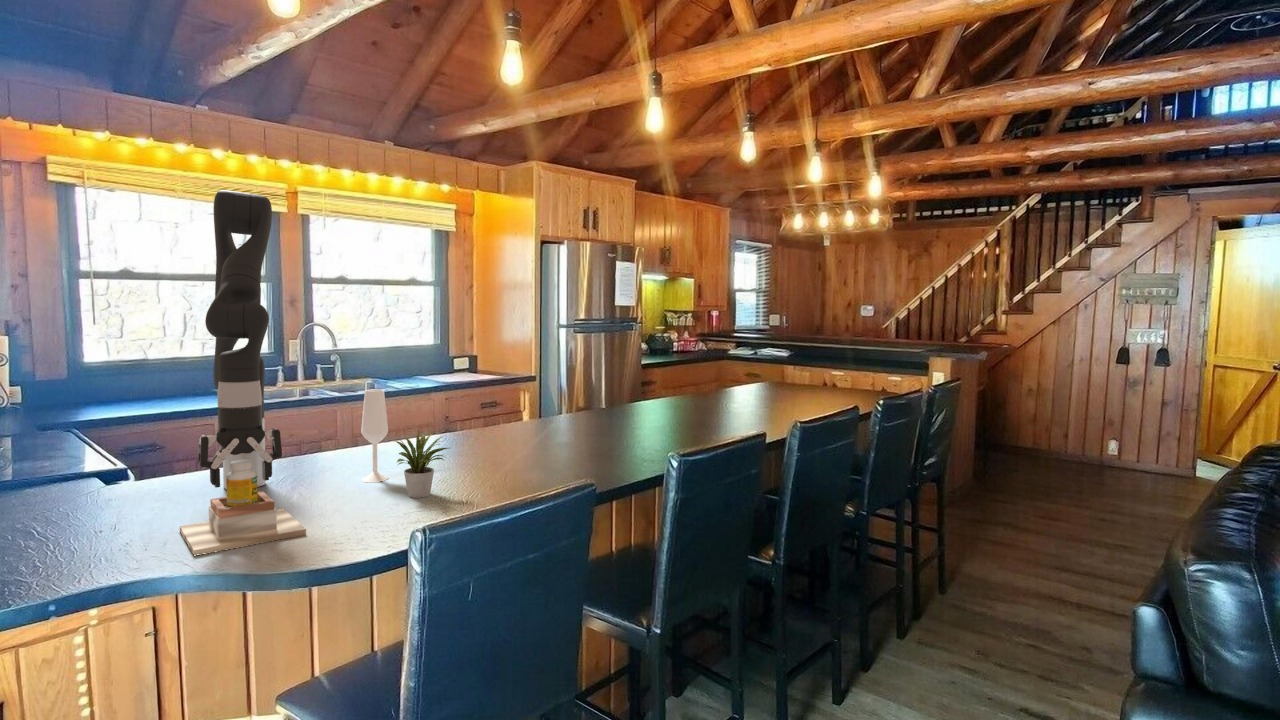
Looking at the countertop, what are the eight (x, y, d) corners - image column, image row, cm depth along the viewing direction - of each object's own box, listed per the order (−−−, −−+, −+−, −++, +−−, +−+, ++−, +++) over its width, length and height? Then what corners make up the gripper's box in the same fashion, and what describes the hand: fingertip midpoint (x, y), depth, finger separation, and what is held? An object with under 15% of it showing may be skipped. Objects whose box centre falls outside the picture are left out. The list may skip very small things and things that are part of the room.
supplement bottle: (228, 505, 134) (227, 459, 134) (258, 502, 137) (258, 457, 136) (225, 513, 129) (224, 465, 129) (256, 510, 132) (255, 463, 131)
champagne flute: (379, 474, 181) (378, 388, 180) (393, 478, 177) (393, 390, 176) (356, 479, 176) (355, 390, 174) (370, 483, 172) (370, 392, 170)
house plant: (411, 508, 152) (411, 438, 151) (373, 498, 159) (372, 431, 158) (458, 494, 164) (458, 429, 163) (421, 485, 171) (421, 423, 170)
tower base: (179, 531, 133) (178, 498, 133) (283, 514, 146) (283, 483, 146) (193, 556, 121) (192, 520, 120) (306, 534, 133) (305, 501, 133)
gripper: (274, 398, 139) (276, 474, 140) (194, 403, 129) (196, 484, 131) (284, 402, 133) (285, 481, 135) (200, 408, 124) (203, 493, 125)
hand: (241, 483), depth 133 cm, fingers open, 8 cm apart
